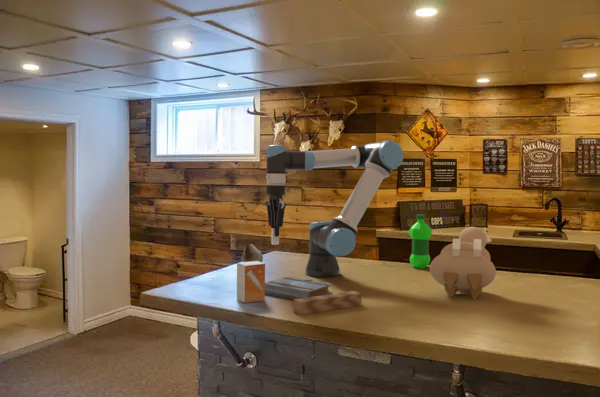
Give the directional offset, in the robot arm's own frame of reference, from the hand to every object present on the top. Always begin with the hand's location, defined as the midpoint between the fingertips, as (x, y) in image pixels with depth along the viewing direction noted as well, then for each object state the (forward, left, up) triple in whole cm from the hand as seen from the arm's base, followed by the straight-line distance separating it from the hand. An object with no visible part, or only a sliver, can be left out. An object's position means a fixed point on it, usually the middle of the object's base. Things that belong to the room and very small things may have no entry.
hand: (275, 244), depth 193 cm
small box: (+18, +17, -16) cm, 29 cm away
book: (-1, +16, -17) cm, 23 cm away
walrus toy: (-52, +48, -16) cm, 72 cm away
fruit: (-6, -35, -16) cm, 40 cm away
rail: (0, +39, -16) cm, 42 cm away
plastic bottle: (-77, 0, -16) cm, 79 cm away
